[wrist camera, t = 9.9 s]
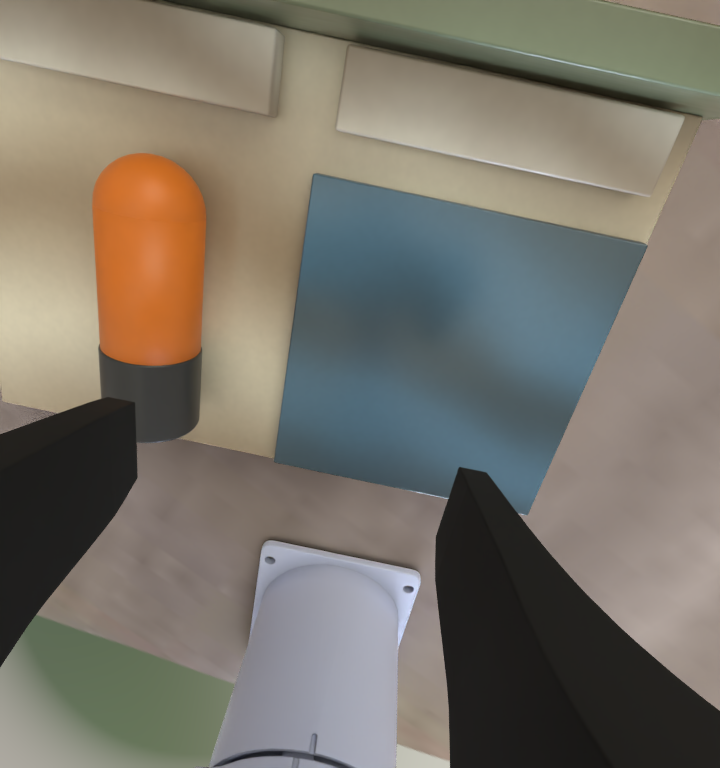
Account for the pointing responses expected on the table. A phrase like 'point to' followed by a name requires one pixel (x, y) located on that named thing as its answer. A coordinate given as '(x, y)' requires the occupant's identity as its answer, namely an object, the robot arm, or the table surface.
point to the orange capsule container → (150, 291)
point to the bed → (355, 211)
